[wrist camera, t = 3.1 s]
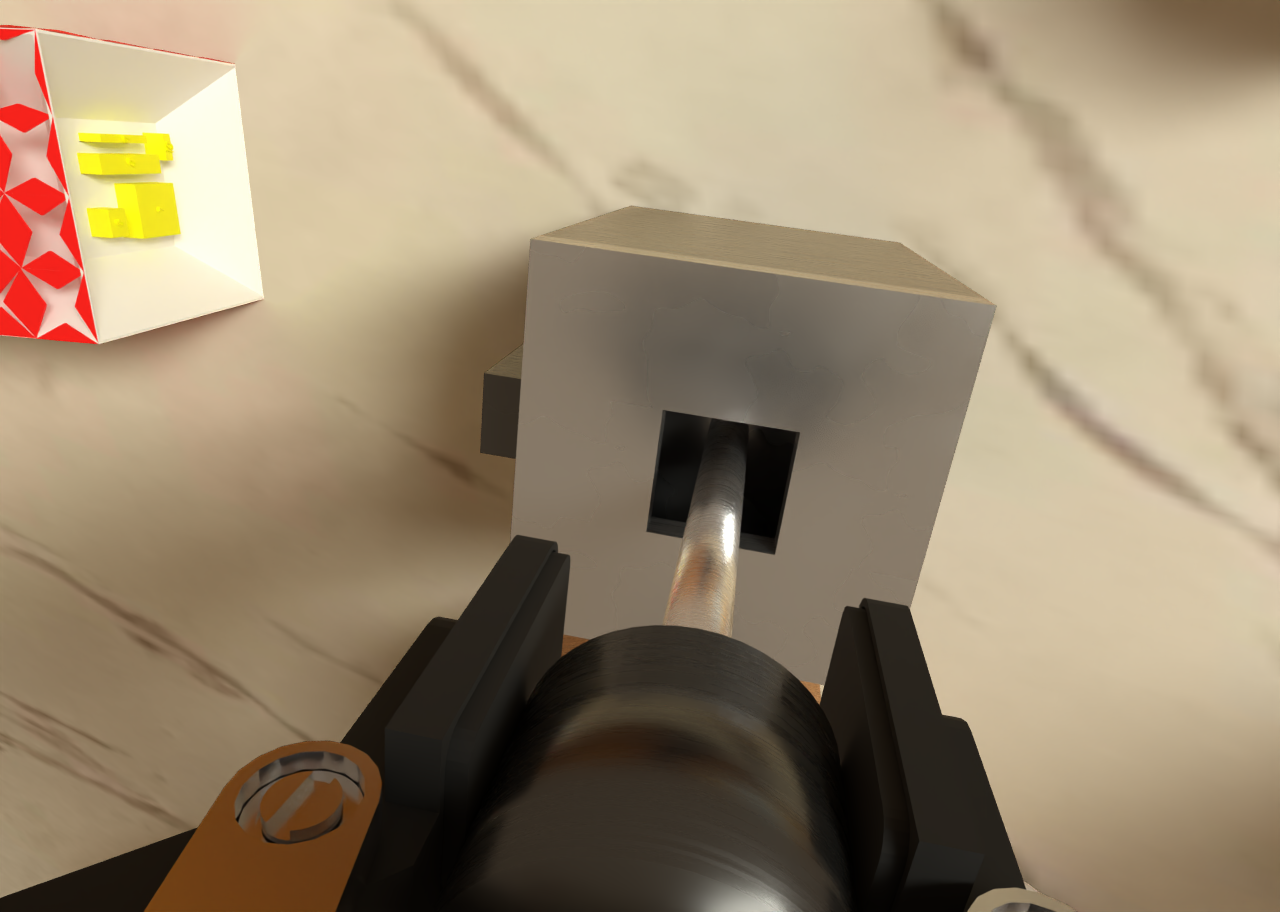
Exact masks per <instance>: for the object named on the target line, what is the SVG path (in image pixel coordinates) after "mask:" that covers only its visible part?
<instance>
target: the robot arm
mask: <svg viewBox="0 0 1280 912" xmlns="http://www.w3.org/2000/svg"><path fill="white" fill-rule="evenodd" d="M569 574H570V555H568V554H562V553H558V544H557V542H555V541H549V540H544V539H538V538H533V537H527V536H522V535H516V536H515V537H514V538H513V540H512V541H511V543H510V544H509V546H508V547H507V549H506V550H505V552H504V553H503V555H502V556H501V557H500V559H499V560H498V562H497V563H496V565H495V566H494V568H493V569H492V571H491V572H490V574H489V575H488V577H487V578H486V580H485V581H484V583H483V584H482V586H481V587H480V588H479V590H478V591H477V593H476V594H475V596H474V597H473V599H472V600H471V602H470V603H469V605H468V606H467V608H466V609H465V611H464V612H463V614H462V615H461V616H460V618H459V619H458V620H453V619H448V618H443V617H436V618H433V619H432V620H431V621H430V622H429V623H428V624H427V626H426V627H425V628H424V630H423V631H422V633H421V634H420V635H419V637H418V638H417V639H416V641H415V642H414V643H413V645H412V646H411V647H410V649H409V650H408V652H407V653H406V654H405V656H404V657H403V658H402V660H401V661H400V662H399V664H398V665H397V666H396V668H395V669H394V671H393V672H392V673H391V675H390V676H389V677H388V679H387V680H386V681H385V683H384V684H383V685H382V687H381V688H380V690H379V691H378V692H377V694H376V695H375V696H374V698H373V699H372V700H371V702H370V703H369V704H368V706H367V707H366V709H365V710H364V711H363V713H362V714H361V715H360V717H359V718H358V719H357V721H356V722H355V723H354V725H353V726H352V728H351V729H350V730H349V732H348V733H347V734H346V736H345V737H344V738H343V740H342V741H341V742H340V743H338V742H334V741H304V742H299V743H295V744H290V745H286V746H282V747H279V748H277V749H275V750H272V751H270V752H268V753H265V754H263V755H261V756H259V757H257V758H256V759H254V760H253V761H251V762H250V763H249V764H247V765H246V766H244V767H243V768H241V769H240V770H239V771H238V772H237V773H236V774H235V775H234V776H233V778H232V779H231V780H230V781H229V782H228V783H227V784H226V786H225V787H224V788H223V790H222V791H221V793H220V794H219V796H218V797H217V799H216V800H215V802H214V803H213V805H212V807H211V808H210V810H209V811H208V813H207V814H206V816H205V817H204V819H203V821H202V822H201V824H200V825H199V827H198V828H195V829H192V830H190V831H187V832H184V833H181V834H178V835H176V836H173V837H170V838H167V839H164V840H162V841H159V842H156V843H153V844H150V845H148V846H145V847H142V848H139V849H136V850H134V851H131V852H128V853H125V854H122V855H120V856H117V857H114V858H111V859H108V860H105V861H103V862H100V863H97V864H94V865H91V866H89V867H86V868H83V869H80V870H77V871H75V872H72V873H69V874H66V875H63V876H61V877H58V878H55V879H52V880H49V881H47V882H44V883H41V884H38V885H35V886H33V887H30V888H27V889H24V890H21V891H19V892H16V893H13V894H10V895H7V896H5V897H2V898H0V912H432V911H433V909H434V907H435V905H436V902H437V900H438V898H439V896H440V894H441V891H442V889H443V887H444V885H445V883H446V880H447V878H448V876H449V874H450V871H451V869H452V867H453V865H454V863H455V860H456V858H457V856H458V854H459V852H460V849H461V847H462V845H463V843H464V840H465V838H466V836H467V834H468V832H469V829H470V827H471V825H472V823H473V821H474V818H475V816H476V814H477V812H478V809H479V807H480V805H481V803H482V801H483V798H484V796H485V794H486V792H487V790H488V787H489V785H490V783H491V781H492V778H493V776H494V774H495V772H496V770H497V767H498V765H499V763H500V761H501V759H502V756H503V754H504V752H505V750H506V747H507V745H508V743H509V741H510V739H511V736H512V734H513V732H514V730H515V728H516V725H517V723H518V721H519V719H520V716H521V714H522V712H523V710H524V708H525V705H526V703H527V701H528V699H529V697H530V695H531V693H532V691H533V690H534V688H535V686H536V684H537V683H538V682H539V680H540V679H541V678H542V676H543V675H544V674H545V672H546V671H547V670H548V669H549V668H550V667H551V666H552V665H553V664H554V663H555V662H556V661H557V660H558V659H560V658H561V654H562V644H563V634H564V624H565V614H566V604H567V594H568V584H569ZM820 707H821V708H822V709H823V711H824V713H825V715H826V717H827V719H828V721H829V723H830V725H831V727H832V729H833V733H834V736H835V739H836V742H837V745H838V751H839V757H840V764H841V773H842V781H843V790H844V799H845V808H846V817H847V826H848V834H849V843H850V852H851V861H852V870H853V879H854V887H855V896H856V905H857V912H1077V911H1076V910H1074V909H1073V908H1071V907H1070V906H1068V905H1067V904H1065V903H1062V902H1060V901H1058V900H1055V899H1053V898H1051V897H1049V896H1046V895H1044V894H1042V893H1039V892H1034V891H1029V890H1026V887H1025V884H1024V881H1023V878H1022V875H1021V873H1020V870H1019V867H1018V864H1017V861H1016V858H1015V855H1014V853H1013V850H1012V847H1011V844H1010V841H1009V838H1008V835H1007V832H1006V830H1005V827H1004V824H1003V821H1002V818H1001V815H1000V812H999V810H998V807H997V804H996V801H995V798H994V795H993V792H992V789H991V787H990V784H989V781H988V778H987V775H986V772H985V769H984V767H983V764H982V761H981V758H980V755H979V752H978V749H977V746H976V744H975V741H974V738H973V735H972V732H971V730H970V728H969V726H968V724H967V722H966V721H964V720H963V719H961V718H956V717H951V716H946V715H942V713H941V710H940V707H939V703H938V700H937V697H936V694H935V690H934V687H933V684H932V680H931V677H930V674H929V671H928V667H927V664H926V661H925V658H924V654H923V651H922V648H921V645H920V641H919V638H918V635H917V632H916V628H915V625H914V622H913V619H912V615H911V612H910V609H909V607H908V606H906V605H901V604H896V603H890V602H885V601H879V600H874V599H868V598H863V599H862V601H861V603H860V605H859V608H857V607H851V606H846V607H845V608H844V611H843V614H842V617H841V621H840V625H839V629H838V633H837V637H836V641H835V645H834V649H833V653H832V657H831V661H830V665H829V669H828V673H827V677H826V681H825V685H824V689H823V693H822V697H821V701H820Z"/></svg>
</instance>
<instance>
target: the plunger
mask: <svg viewBox="0 0 1280 912" xmlns="http://www.w3.org/2000/svg"><path fill="white" fill-rule="evenodd" d="M796 433H797V432H795V431H789V430H783V429H777V428H771V427H765V426H758V425H752V424H746V423H740V422H734V421H728V420H722V419H716V418H709V417H703V416H697V415H691V414H685V413H679V412H673V411H667V410H666V414H665V421H664V429H663V436H662V443H661V450H660V457H659V465H658V472H657V479H656V486H655V493H654V501H653V508H652V515H653V516H655V517H657V518H663V519H668V520H674V521H680V522H685V523H686V527H685V531H684V535H683V539H682V543H681V548H680V552H679V556H678V560H677V565H676V569H675V573H674V577H673V582H672V586H671V590H670V594H669V599H668V603H667V607H666V611H665V616H664V620H663V624H662V625H650V626H640V627H631V628H626V629H622V630H617V631H613V632H609V633H607V634H604V635H601V636H598V637H595V638H593V639H591V640H589V641H587V642H585V643H583V644H581V645H579V646H577V647H575V648H574V649H572V650H571V651H569V652H568V653H567V654H565V655H564V656H562V657H561V658H560V659H558V660H557V661H556V662H555V663H554V664H553V665H552V666H551V667H550V668H549V669H548V670H547V671H546V672H545V674H544V675H543V676H542V678H541V679H540V680H539V682H538V683H537V684H536V686H535V688H534V690H533V691H532V693H531V695H530V697H529V699H528V701H527V703H526V705H525V708H524V710H523V712H522V714H521V716H520V719H519V721H518V723H517V725H516V728H515V730H514V732H513V734H512V736H511V739H510V741H509V743H508V745H507V747H506V750H505V752H504V754H503V756H502V759H501V761H500V763H499V765H498V767H497V770H496V772H495V774H494V776H493V778H492V781H491V783H490V785H489V787H488V790H487V792H486V794H485V796H484V798H483V801H482V803H481V805H480V807H479V809H478V812H477V814H476V816H475V818H474V821H473V823H472V825H471V827H470V829H469V832H468V834H467V836H466V838H465V840H464V843H463V845H462V847H461V849H460V852H459V854H458V856H457V858H456V860H455V863H454V865H453V867H452V869H451V871H450V874H449V876H448V878H447V880H446V883H445V885H444V887H443V889H442V891H441V894H440V896H439V898H438V900H437V902H436V905H435V907H434V909H433V911H432V912H857V905H856V896H855V887H854V879H853V870H852V861H851V852H850V843H849V834H848V826H847V817H846V808H845V799H844V790H843V781H842V773H841V764H840V757H839V751H838V745H837V742H836V739H835V736H834V733H833V729H832V727H831V725H830V723H829V721H828V719H827V717H826V715H825V713H824V711H823V709H822V708H821V707H820V705H819V704H818V702H817V701H816V699H815V698H814V696H813V695H812V694H811V693H810V691H809V690H808V689H807V688H806V687H805V686H804V685H803V684H802V683H801V682H800V680H799V679H798V678H796V677H795V676H794V675H793V674H792V673H791V672H789V671H788V670H787V669H786V668H785V667H784V666H782V665H781V664H780V663H778V662H777V661H775V660H774V659H772V658H771V657H769V656H768V655H766V654H765V653H763V652H761V651H759V650H757V649H755V648H753V647H751V646H749V645H747V644H745V643H743V642H741V641H738V640H736V639H733V638H731V636H732V624H733V612H734V601H735V589H736V577H737V565H738V554H739V542H740V532H742V533H747V534H753V535H759V536H764V537H773V536H775V535H776V531H777V526H778V521H779V516H780V511H781V506H782V501H783V496H784V491H785V487H786V482H787V477H788V472H789V467H790V462H791V457H792V452H793V447H794V443H795V438H796Z"/></svg>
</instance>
